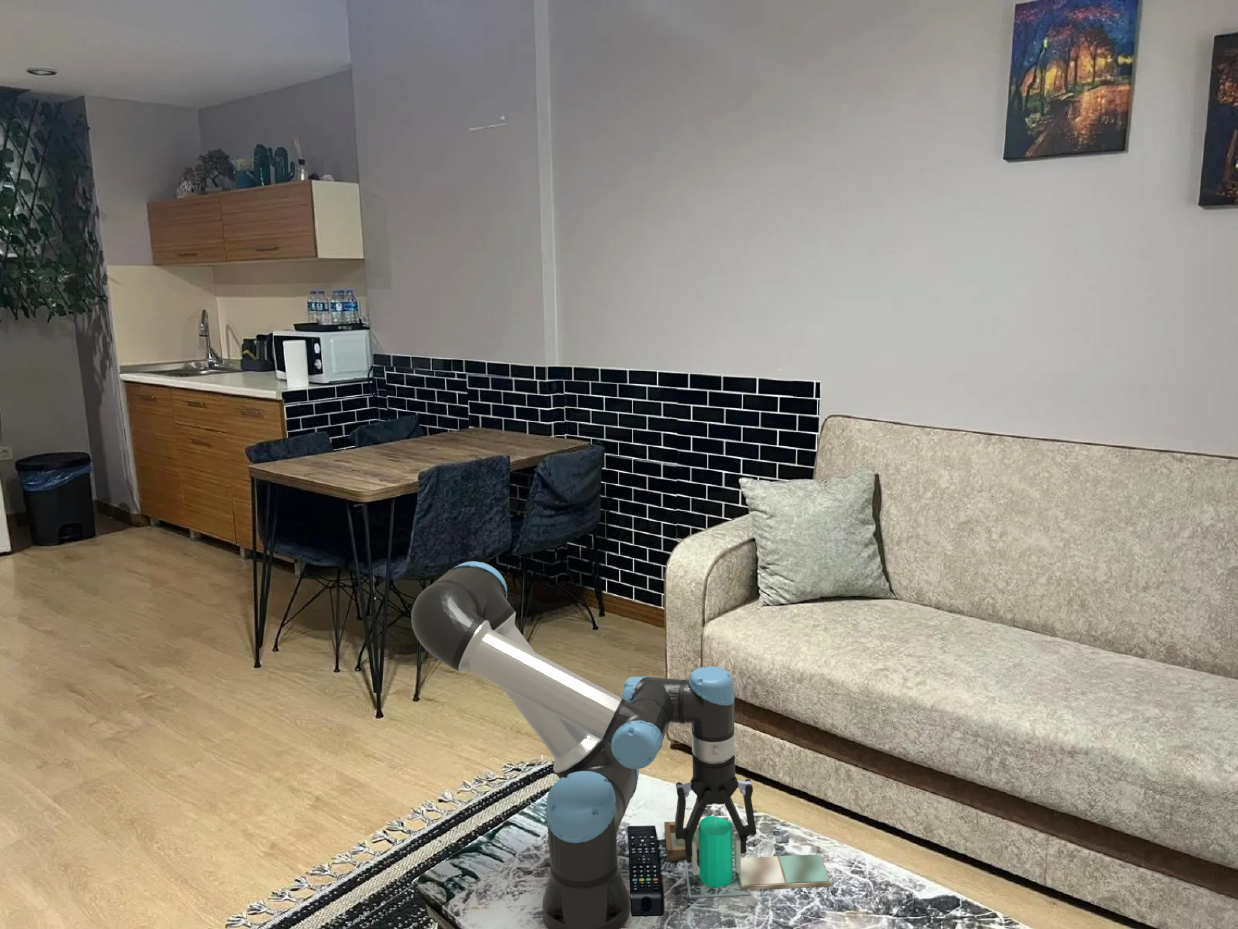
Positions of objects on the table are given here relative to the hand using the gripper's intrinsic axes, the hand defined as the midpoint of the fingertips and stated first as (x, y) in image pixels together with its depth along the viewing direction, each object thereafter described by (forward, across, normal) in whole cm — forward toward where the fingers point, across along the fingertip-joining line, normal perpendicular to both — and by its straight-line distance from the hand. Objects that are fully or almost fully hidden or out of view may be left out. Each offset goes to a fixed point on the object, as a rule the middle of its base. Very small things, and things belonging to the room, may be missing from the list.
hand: (716, 869), depth 167 cm
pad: (+2, 0, 0) cm, 2 cm away
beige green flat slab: (+2, +12, 0) cm, 12 cm away
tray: (+2, -4, +10) cm, 10 cm away
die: (+1, -4, +10) cm, 10 cm away
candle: (+2, 0, 0) cm, 2 cm away
